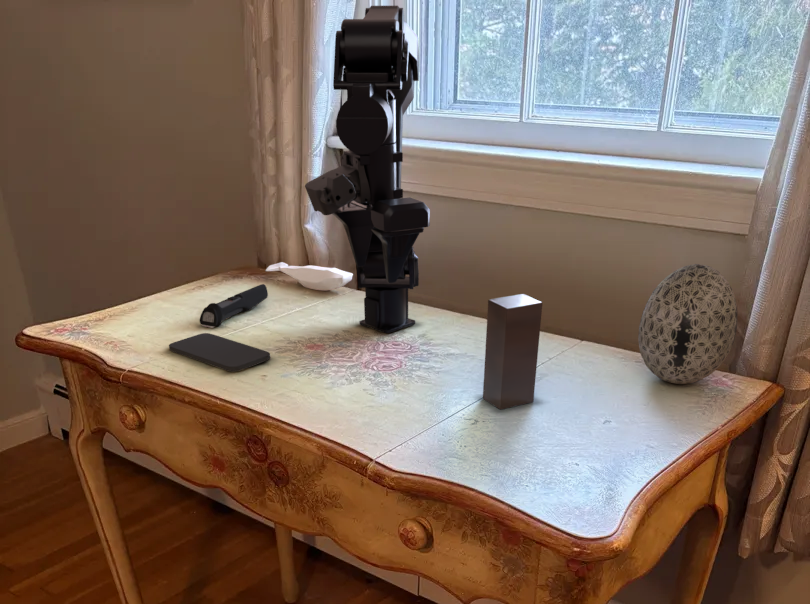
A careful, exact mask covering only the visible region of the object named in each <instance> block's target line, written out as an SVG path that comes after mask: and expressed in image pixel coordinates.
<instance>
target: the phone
mask: <svg viewBox="0 0 810 604" xmlns="http://www.w3.org/2000/svg"><path fill="white" fill-rule="evenodd" d="M168 347H169V351H170V352H173V353H175V354H179V355H180V356H184V357H187V358H190V359H192V360H195V361H199V362H201V363H204V364H206V365H210V366H212V367H216V368H219V369H221V370H224V371H227V372H233V373H234V372H235V373H236V372H240V371H243V370H245V369H248V368H251V367H253V366H256V365H258V364H261V363H263V362H267V361H269V360H270V359H271V353H270V352H269V351H267V350H264V349H261V348H258V347H255V346H251V345H248V344H245V343H242V342H239V341H236V340H232V339H229V338H226V337H223V336H219V335H216V334H213V333H209V332H202V333H198V334H196V335H193V336H189V337H187V338H183V339H180V340H177V341H174V342H171V343H169V344H168Z"/></svg>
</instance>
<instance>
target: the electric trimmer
mask: <svg viewBox="0 0 810 604" xmlns="http://www.w3.org/2000/svg"><path fill="white" fill-rule="evenodd" d="M267 288H268V287H267V286H266V284H264V283H261V284H259V285H257V286H254V287H252V288H249V289H246V290H244V291H241V292H239V293H235V294H234V295H232V296H230V297H227V298H225V299H224V300H222V301H219V302H217V303H216V302H211V303H208V305H207V306H206V307H204V308H203V310H202V311H201V313H200V316H199V324H200V325H201V326H202V327H206V328H207V327H208V328H211V329H215V328H219V327H220V326H221V325H222V322H223V321H226V320H227V319H229V318H231V317H233V316H235V315H237V314H239V313H241V312H244V313H245V312H249V311H250V310H252V309H253V308H255V307H257V306H258V305H259V304H260V303H262V302H264V301H265V300H266V299H267V298H268V296H269V293H268V289H267Z"/></svg>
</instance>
